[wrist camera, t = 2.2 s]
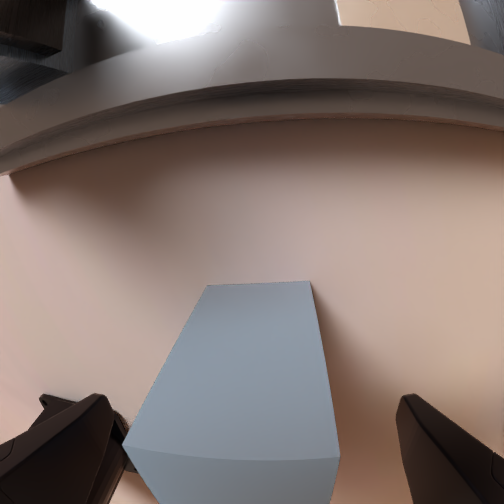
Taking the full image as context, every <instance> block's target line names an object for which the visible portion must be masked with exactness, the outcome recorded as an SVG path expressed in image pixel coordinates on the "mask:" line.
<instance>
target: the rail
mask: <svg viewBox="0 0 504 504" xmlns="http://www.w3.org/2000/svg"><path fill="white" fill-rule="evenodd" d="M319 118H370V119H396V120H412V121H425V122H436V123H446V124H454V125H463V126H470V127H477V128H484V129H490V130H496V131H501V132H504V0H0V176H4V175H9V174H12V173H14V172H17V171H20V170H23V169H26V168H29V167H32V166H35V165H38V164H42V163H45V162H48V161H51V160H55V159H58V158H61V157H65V156H68V155H72V154H76V153H79V152H83V151H87V150H91V149H95V148H99V147H103V146H107V145H112V144H116V143H121V142H125V141H130V140H135V139H140V138H145V137H150V136H155V135H161V134H167V133H172V132H179V131H185V130H192V129H198V128H206V127H213V126H222V125H230V124H240V123H250V122H262V121H276V120H293V119H319Z"/></svg>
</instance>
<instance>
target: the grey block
mask: <svg viewBox="0 0 504 504" xmlns="http://www.w3.org/2000/svg"><path fill="white" fill-rule="evenodd" d="M122 446H123V448H124V449H125V451H126V453H127V454H128V456H129V458H130V460H131V461H132V463H133V464H134V466H135V468H136V469H137V471H138V473H139V474H140V476H141V477H142V479H143V480H144V482H145V483H146V485H147V486H148V488H149V489H150V491H151V492H152V494H153V495H154V497H155V498H156V500H157V501H158V502H159V504H330V500H331V496H332V492H333V488H334V484H335V479H336V475H337V470H338V466H339V461H340V450H339V443H338V436H337V429H336V422H335V416H334V409H333V403H332V397H331V391H330V385H329V379H328V373H327V368H326V362H325V357H324V351H323V346H322V340H321V335H320V330H319V325H318V320H317V314H316V309H315V305H314V300H313V295H312V290H311V285H310V281H298V282H279V283H257V284H232V285H207V287H206V288H205V290H204V292H203V294H202V296H201V297H200V299H199V301H198V303H197V305H196V306H195V308H194V310H193V312H192V314H191V315H190V317H189V319H188V321H187V323H186V325H185V326H184V328H183V330H182V332H181V334H180V336H179V337H178V339H177V341H176V343H175V345H174V347H173V349H172V350H171V352H170V354H169V356H168V358H167V360H166V362H165V363H164V365H163V367H162V369H161V371H160V373H159V375H158V377H157V378H156V380H155V382H154V384H153V386H152V388H151V390H150V392H149V394H148V395H147V397H146V399H145V401H144V403H143V405H142V407H141V409H140V411H139V413H138V415H137V416H136V418H135V420H134V422H133V424H132V426H131V428H130V430H129V432H128V434H127V436H126V438H125V440H124V442H123V444H122Z"/></svg>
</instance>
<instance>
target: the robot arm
mask: <svg viewBox="0 0 504 504" xmlns="http://www.w3.org/2000/svg"><path fill="white" fill-rule="evenodd" d="M39 400H40V402H41V404H42V406H43V408H44V410H43V412H42V413H41V414H40V415H39V417H38V418H37V419H36V420H35V422H34V423H33V424H32V425H31V427H30V428H29V429H28V431H26V432H24V433H22V434H20V435H18V436H16V437H15V438H13V439H11V440H9V441H7V442H5V443H3V444H1V445H0V504H109V503H110V500H111V498H112V496H113V494H114V492H115V489H116V487H117V485H118V483H119V481H120V479H121V476H122V474H123V472H124V470H126V471H130V472H134V473H138V471H137V469H136V468H135V466H134V464H133V463H132V461H131V460H130V458H129V456H128V454H127V453H126V451H125V449H124V448H123V446H122V444H123V442H124V440H125V438H126V436H127V433H126V431H125V429H124V427H123V425H122V423H121V421H120V419H119V417H118V415H117V414H116V413H115V412H113V409H112V407H111V405H110V403H109V401H108V399H107V397H106V396H105V395H103V394H97V393H94V394H92V395H90V396H88V397H86V398H85V399H83V400H81V401H79V402H78V403H76V402H72V401H68V400H65V399H61V398H57V397H53V396H50V395H46V394H42V395H41V397H40V398H39ZM396 424H397V430H398V436H399V442H400V448H401V455H402V461H403V465H404V469H405V473H406V477H407V480H408V484H409V488H410V492H411V496H412V500H413V504H504V459H503V458H502V457H501V456H499V455H498V454H496V453H495V452H493V451H492V450H491V449H489V448H488V447H487V446H485V445H484V444H483V443H481V442H480V441H479V440H477V439H476V438H475V437H473V436H472V435H470V434H469V433H468V432H466V431H465V430H464V429H462V428H461V427H460V426H458V425H457V424H456V423H454V422H453V421H452V420H450V419H449V418H447V417H446V416H445V415H443V414H442V413H441V412H439V411H438V410H437V409H435V408H434V407H433V406H431V405H430V404H429V403H427V402H426V401H425V400H423V399H422V398H421V397H419V396H418V395H417V394H414V393H413V394H407V395H403V396H402V397H401V399H400V402H399V406H398V410H397V413H396Z"/></svg>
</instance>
